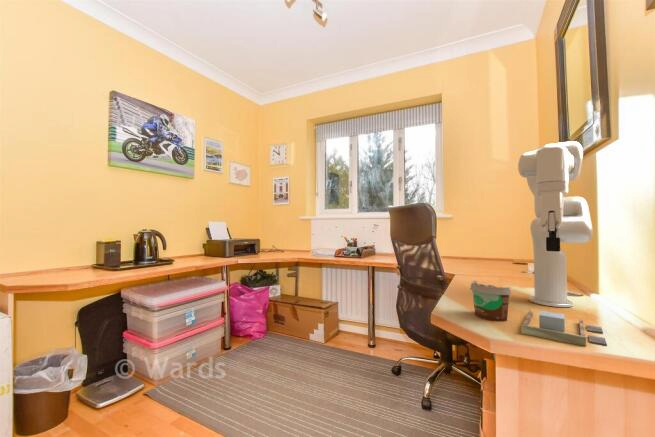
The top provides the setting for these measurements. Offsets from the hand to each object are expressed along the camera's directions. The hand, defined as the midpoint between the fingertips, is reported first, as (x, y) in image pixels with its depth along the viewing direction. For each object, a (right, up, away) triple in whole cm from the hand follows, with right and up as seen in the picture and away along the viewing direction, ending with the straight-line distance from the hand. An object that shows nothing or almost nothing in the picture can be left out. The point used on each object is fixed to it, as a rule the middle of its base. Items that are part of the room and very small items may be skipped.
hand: (553, 251), depth 85 cm
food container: (-18, -21, +3) cm, 28 cm away
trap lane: (-3, -20, -7) cm, 22 cm away
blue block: (-8, -20, -10) cm, 24 cm away
